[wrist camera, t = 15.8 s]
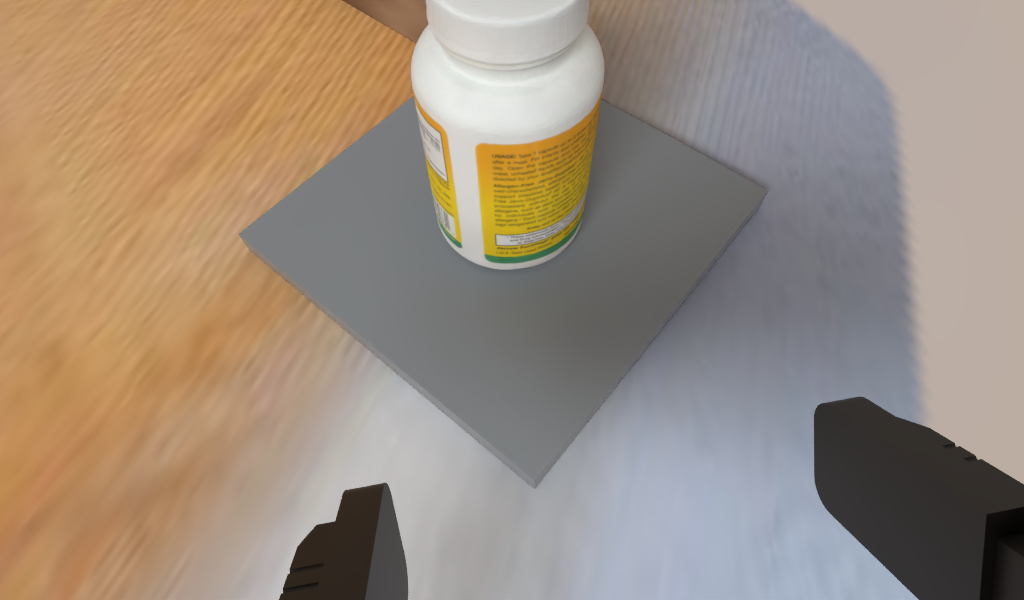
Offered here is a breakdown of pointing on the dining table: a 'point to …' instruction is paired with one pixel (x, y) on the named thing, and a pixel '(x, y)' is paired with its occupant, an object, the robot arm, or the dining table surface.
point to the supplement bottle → (508, 123)
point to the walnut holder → (397, 14)
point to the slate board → (507, 278)
